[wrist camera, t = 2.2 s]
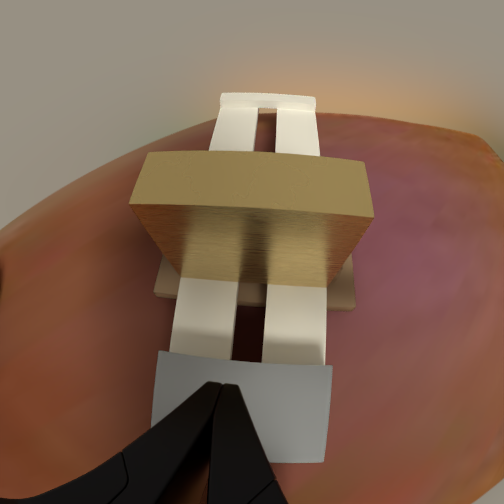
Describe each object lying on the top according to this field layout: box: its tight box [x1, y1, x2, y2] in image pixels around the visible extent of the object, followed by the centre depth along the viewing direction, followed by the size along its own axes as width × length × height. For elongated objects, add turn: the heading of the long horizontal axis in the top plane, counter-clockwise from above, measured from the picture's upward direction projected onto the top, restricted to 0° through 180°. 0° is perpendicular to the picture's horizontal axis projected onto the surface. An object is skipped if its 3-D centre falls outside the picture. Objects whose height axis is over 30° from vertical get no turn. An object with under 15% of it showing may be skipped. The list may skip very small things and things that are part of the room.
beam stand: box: [153, 254, 356, 311], centre depth 22 cm, size 6×16×4 cm, turn 85°
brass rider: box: [129, 151, 374, 288], centre depth 17 cm, size 8×10×10 cm
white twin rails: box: [151, 93, 333, 463], centre depth 20 cm, size 32×10×3 cm, turn 175°
